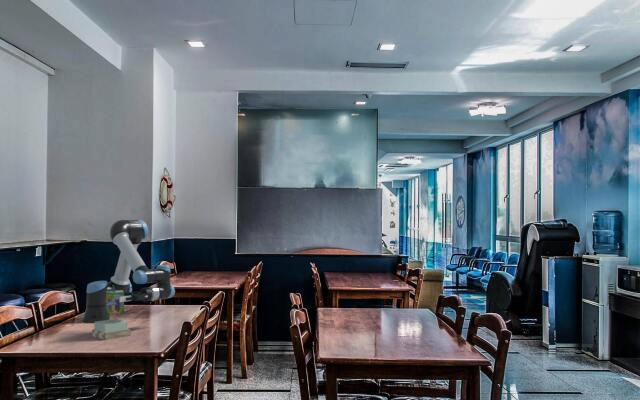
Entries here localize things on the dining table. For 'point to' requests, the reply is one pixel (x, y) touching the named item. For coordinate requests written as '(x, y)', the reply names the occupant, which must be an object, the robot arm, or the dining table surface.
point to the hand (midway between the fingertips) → (113, 298)
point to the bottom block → (111, 334)
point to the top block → (110, 325)
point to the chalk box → (114, 302)
